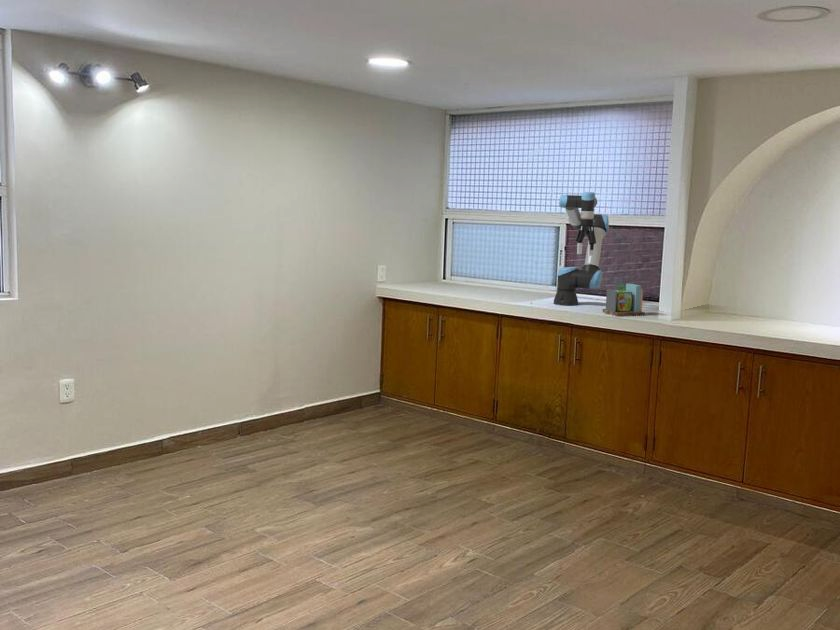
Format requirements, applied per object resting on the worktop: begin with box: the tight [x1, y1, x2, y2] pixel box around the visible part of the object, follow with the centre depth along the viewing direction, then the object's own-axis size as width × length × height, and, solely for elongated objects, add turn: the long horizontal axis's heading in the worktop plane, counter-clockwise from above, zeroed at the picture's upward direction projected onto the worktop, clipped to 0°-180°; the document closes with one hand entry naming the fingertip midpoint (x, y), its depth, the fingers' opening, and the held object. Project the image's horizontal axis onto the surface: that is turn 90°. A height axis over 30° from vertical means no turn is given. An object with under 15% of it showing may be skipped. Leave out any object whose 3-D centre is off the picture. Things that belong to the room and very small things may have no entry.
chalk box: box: [613, 284, 632, 312], centre depth 464 cm, size 9×9×15 cm
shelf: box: [602, 308, 646, 317], centre depth 466 cm, size 16×18×2 cm
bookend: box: [605, 288, 617, 312], centre depth 463 cm, size 10×1×12 cm, turn 17°
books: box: [625, 283, 644, 312], centre depth 467 cm, size 11×5×15 cm, turn 17°
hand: (585, 254), depth 476 cm, fingers open, 13 cm apart
